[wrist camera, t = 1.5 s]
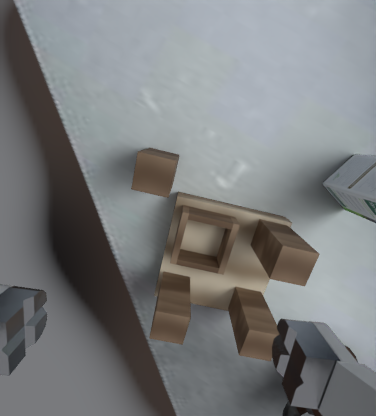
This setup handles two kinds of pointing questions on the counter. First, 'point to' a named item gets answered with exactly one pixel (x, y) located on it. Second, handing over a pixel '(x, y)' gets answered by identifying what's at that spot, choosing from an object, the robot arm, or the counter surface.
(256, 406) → the counter surface
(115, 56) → the counter surface
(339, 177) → the syrup box
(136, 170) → the stool leg
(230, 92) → the counter surface
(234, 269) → the stool seat
